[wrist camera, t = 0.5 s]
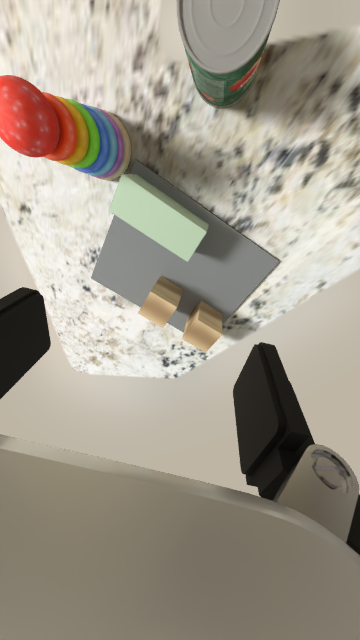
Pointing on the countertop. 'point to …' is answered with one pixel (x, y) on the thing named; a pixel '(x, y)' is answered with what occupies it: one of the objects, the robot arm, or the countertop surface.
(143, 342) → the countertop surface
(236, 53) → the canned tomato
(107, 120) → the stacking toy
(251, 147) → the countertop surface
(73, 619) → the robot arm
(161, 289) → the pillar
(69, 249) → the countertop surface
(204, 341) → the pillar
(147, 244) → the mat
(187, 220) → the beam
